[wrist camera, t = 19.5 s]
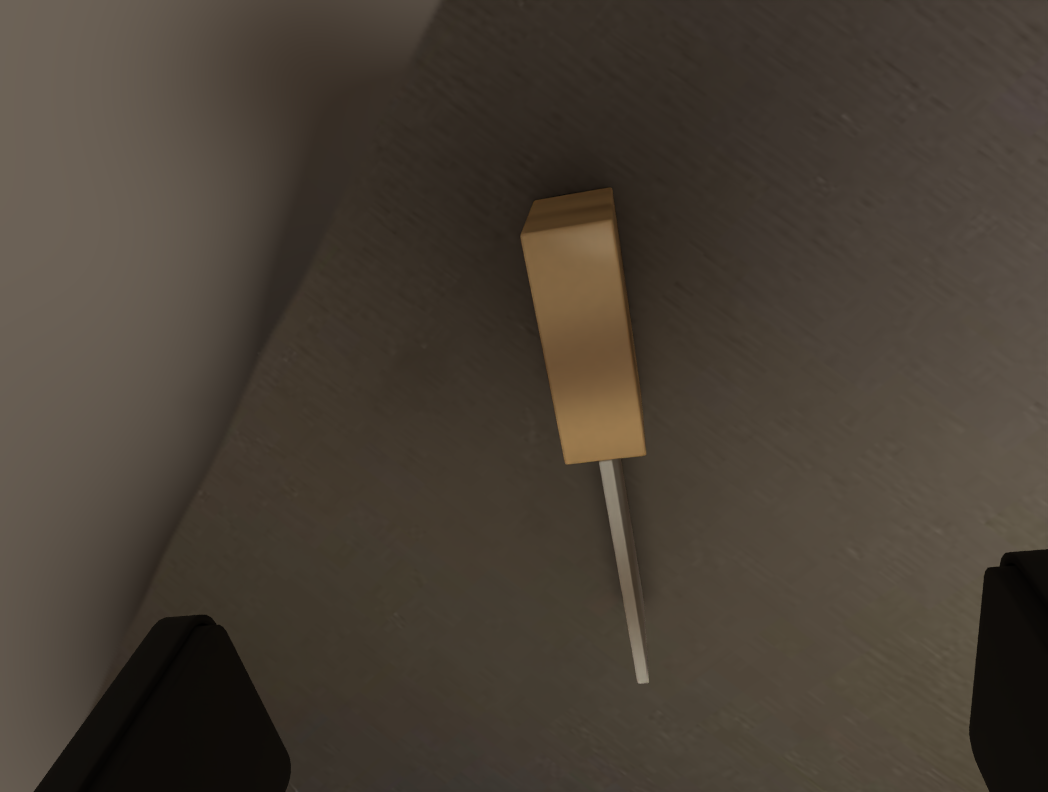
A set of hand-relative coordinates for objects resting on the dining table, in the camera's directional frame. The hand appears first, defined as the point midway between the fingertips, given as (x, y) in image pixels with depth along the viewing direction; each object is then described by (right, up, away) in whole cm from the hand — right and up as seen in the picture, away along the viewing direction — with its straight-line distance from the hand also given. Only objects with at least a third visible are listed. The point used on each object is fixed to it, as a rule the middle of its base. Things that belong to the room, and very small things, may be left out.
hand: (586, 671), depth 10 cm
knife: (+2, +2, +17) cm, 17 cm away
